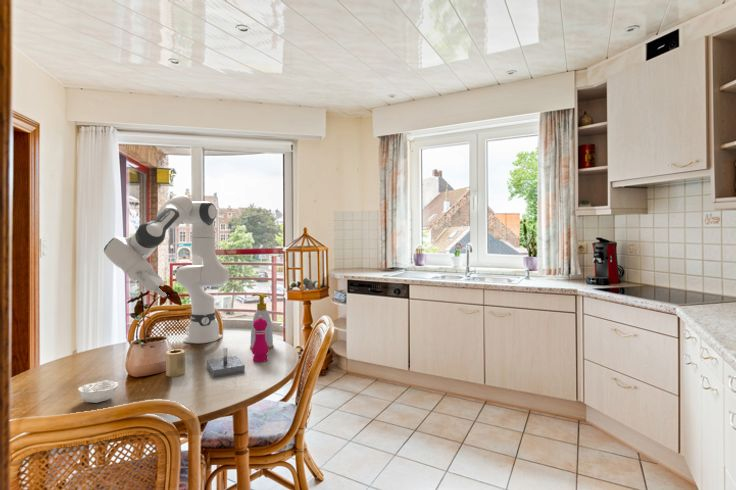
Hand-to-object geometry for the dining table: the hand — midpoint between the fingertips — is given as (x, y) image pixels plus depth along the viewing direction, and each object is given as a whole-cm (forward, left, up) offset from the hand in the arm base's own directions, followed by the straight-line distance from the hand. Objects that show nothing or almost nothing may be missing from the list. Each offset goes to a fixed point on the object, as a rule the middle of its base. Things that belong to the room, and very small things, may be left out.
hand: (167, 295), depth 163 cm
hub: (+6, +2, -31) cm, 31 cm away
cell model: (+20, -23, -31) cm, 43 cm away
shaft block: (+11, +20, -31) cm, 38 cm away
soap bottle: (-12, +42, -31) cm, 54 cm away
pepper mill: (+6, +36, -31) cm, 48 cm away
